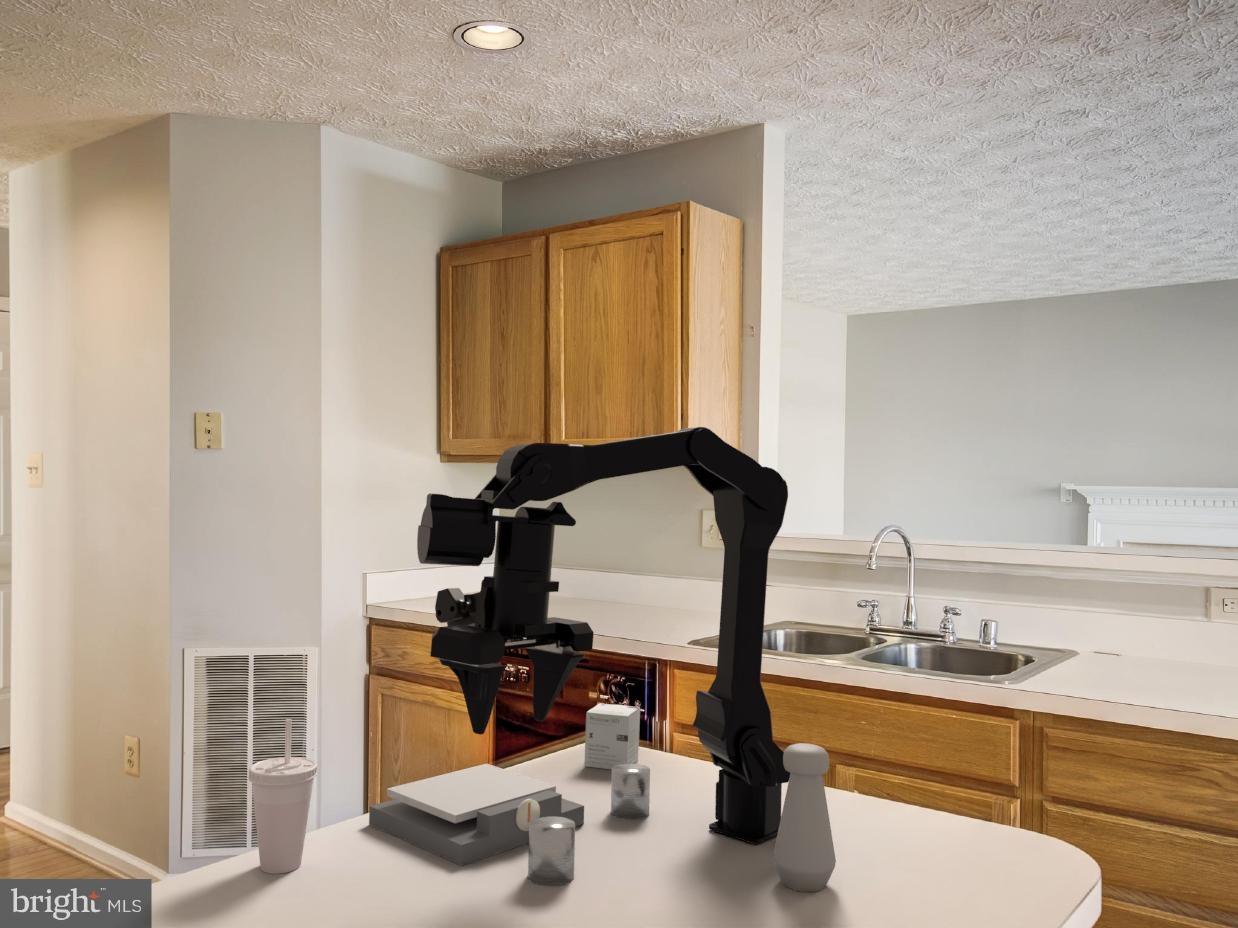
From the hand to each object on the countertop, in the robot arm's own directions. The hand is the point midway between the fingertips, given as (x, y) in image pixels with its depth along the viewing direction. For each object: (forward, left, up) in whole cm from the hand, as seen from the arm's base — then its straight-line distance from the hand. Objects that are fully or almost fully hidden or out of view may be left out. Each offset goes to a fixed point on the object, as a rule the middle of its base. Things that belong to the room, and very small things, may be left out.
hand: (509, 726), depth 98 cm
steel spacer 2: (+2, -20, -13) cm, 24 cm away
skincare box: (+17, -33, -14) cm, 39 cm away
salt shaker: (-23, -17, -14) cm, 32 cm away
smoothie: (+15, +16, -14) cm, 26 cm away
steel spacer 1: (-5, -1, -13) cm, 14 cm away
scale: (+11, -5, -13) cm, 18 cm away
